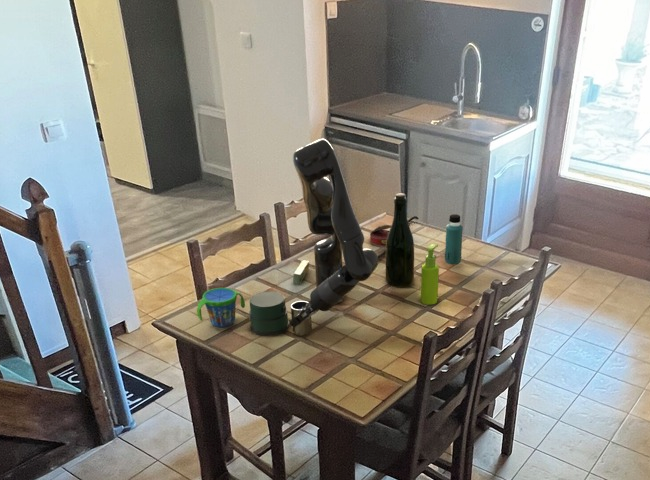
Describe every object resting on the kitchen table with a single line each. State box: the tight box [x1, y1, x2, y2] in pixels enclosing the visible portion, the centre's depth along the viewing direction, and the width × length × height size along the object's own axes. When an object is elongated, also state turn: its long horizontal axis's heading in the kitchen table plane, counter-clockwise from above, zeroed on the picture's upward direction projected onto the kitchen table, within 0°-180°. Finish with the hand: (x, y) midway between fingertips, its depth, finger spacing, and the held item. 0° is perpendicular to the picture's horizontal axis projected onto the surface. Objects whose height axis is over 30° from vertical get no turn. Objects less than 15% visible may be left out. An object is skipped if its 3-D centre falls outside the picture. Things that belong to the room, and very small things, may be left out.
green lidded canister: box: [248, 290, 290, 337], centre depth 219 cm, size 12×12×10 cm
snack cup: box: [196, 287, 246, 328], centre depth 220 cm, size 16×10×10 cm
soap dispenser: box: [420, 243, 440, 306], centre depth 234 cm, size 6×7×20 cm
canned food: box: [369, 224, 391, 247], centre depth 281 cm, size 11×10×10 cm
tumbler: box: [290, 300, 313, 336], centre depth 215 cm, size 6×6×9 cm
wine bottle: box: [384, 192, 415, 288], centre depth 242 cm, size 10×10×33 cm
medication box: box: [292, 259, 310, 285], centre depth 251 cm, size 12×3×4 cm, turn 172°
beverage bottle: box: [444, 213, 464, 265], centre depth 259 cm, size 6×7×20 cm
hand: (297, 320), depth 216 cm, fingers closed on tumbler, 6 cm apart
